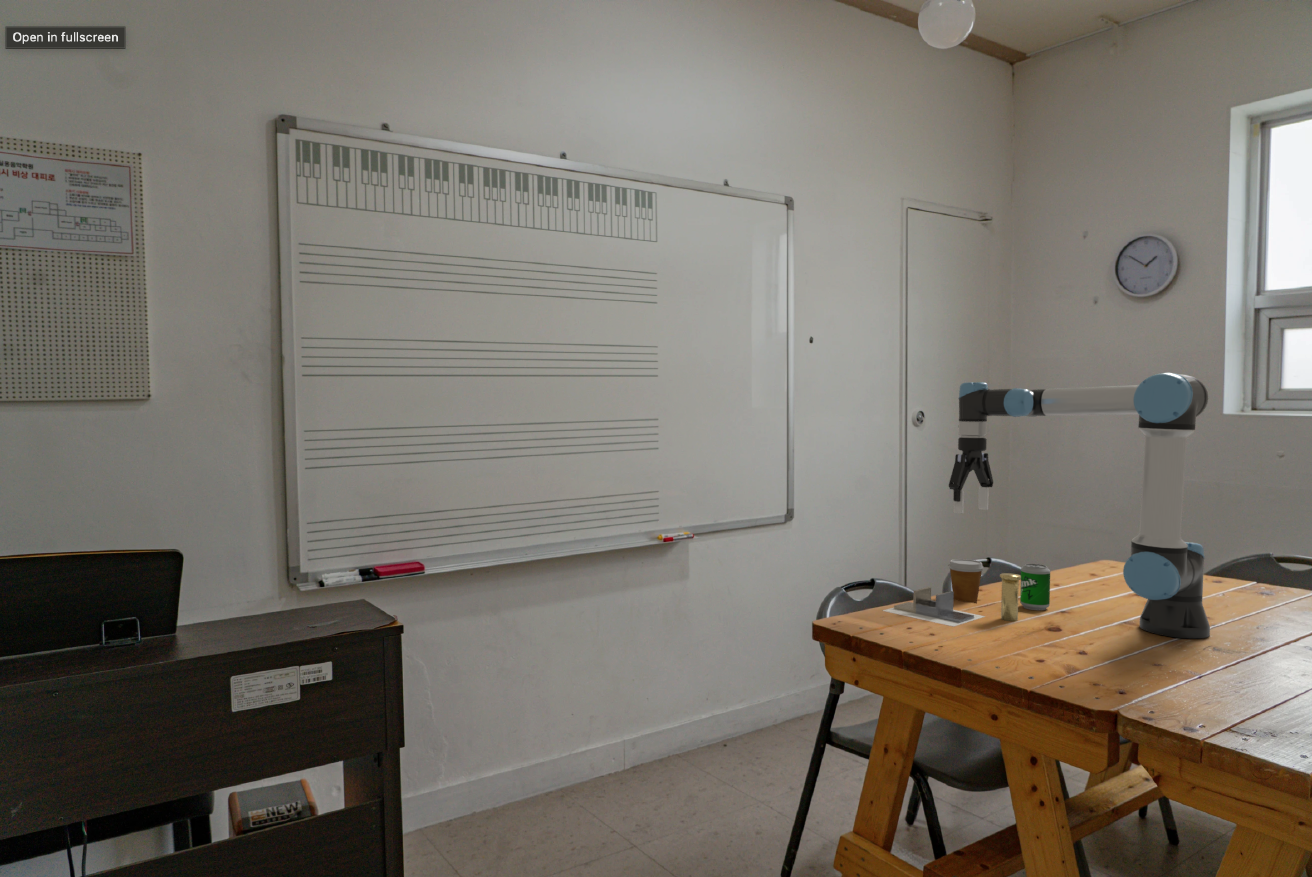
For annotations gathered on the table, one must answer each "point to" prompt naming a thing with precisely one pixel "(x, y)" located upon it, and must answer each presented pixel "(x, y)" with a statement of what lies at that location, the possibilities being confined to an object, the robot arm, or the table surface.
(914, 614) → the board
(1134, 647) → the table surface
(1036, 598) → the soda can
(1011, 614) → the pin
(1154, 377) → the robot arm
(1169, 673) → the table surface
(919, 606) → the hinge
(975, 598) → the disposable coffee cup
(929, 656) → the table surface
